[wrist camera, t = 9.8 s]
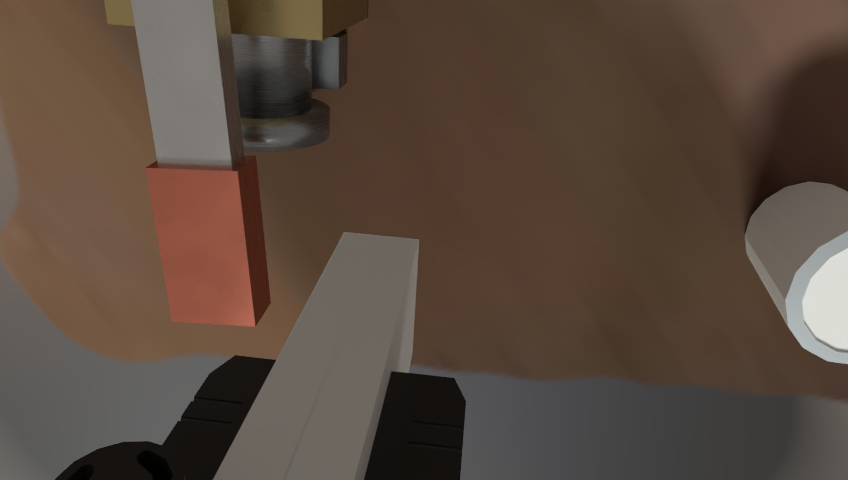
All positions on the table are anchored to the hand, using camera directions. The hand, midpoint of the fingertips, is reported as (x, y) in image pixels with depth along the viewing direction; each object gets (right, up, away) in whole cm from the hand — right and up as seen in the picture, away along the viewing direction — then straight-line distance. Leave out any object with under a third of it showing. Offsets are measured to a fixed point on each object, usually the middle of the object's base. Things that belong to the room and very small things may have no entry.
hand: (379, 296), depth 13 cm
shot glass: (+20, +2, +20) cm, 29 cm away
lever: (-7, +6, +9) cm, 13 cm away
